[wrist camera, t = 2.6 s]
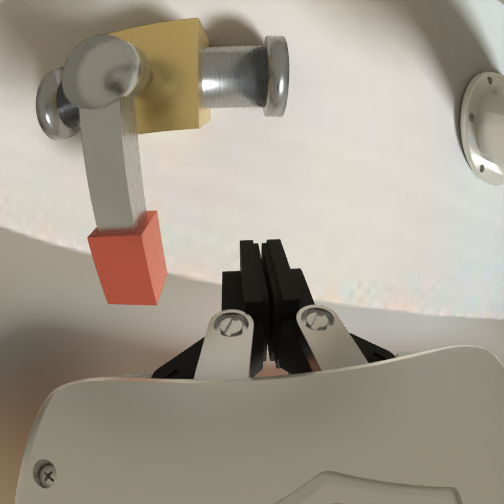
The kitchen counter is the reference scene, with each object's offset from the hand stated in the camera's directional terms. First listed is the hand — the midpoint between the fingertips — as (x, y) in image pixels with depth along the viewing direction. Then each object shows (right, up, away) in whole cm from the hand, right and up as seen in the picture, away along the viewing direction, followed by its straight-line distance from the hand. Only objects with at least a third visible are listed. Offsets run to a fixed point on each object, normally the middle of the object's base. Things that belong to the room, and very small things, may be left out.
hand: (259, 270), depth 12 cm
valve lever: (-6, +5, 0) cm, 8 cm away
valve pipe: (-7, +13, +5) cm, 16 cm away
